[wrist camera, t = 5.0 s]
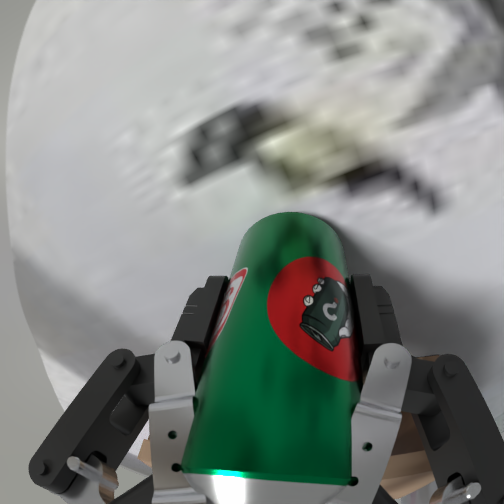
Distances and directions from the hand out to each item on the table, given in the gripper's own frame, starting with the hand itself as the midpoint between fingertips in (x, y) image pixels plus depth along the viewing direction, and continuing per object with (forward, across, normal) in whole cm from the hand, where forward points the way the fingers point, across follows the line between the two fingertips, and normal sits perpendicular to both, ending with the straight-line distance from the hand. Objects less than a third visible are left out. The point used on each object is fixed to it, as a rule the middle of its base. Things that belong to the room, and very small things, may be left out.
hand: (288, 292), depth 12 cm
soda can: (+3, 0, 0) cm, 3 cm away
